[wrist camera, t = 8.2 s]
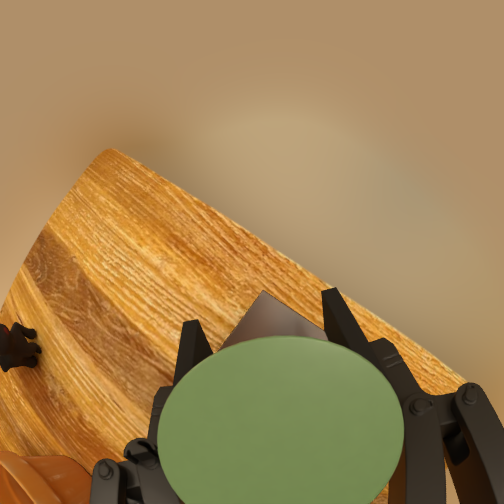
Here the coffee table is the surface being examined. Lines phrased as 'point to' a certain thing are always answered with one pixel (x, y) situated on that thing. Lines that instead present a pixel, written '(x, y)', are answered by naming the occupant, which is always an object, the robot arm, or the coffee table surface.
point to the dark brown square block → (271, 322)
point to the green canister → (281, 426)
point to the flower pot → (42, 480)
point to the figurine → (17, 347)
